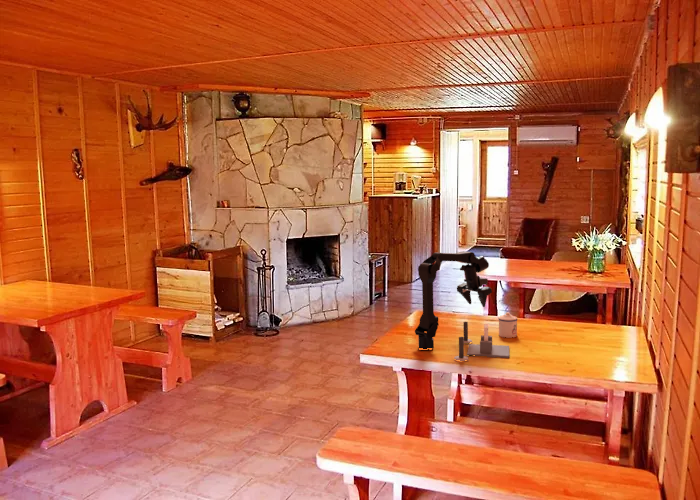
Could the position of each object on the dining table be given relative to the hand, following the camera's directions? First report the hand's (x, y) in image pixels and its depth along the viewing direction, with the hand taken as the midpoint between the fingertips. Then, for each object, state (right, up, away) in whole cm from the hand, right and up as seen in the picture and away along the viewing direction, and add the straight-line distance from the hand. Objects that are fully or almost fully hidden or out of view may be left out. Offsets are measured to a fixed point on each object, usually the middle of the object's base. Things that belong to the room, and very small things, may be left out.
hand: (477, 305), depth 284 cm
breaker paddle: (-1, -17, -24) cm, 29 cm away
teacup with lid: (+16, -15, +4) cm, 23 cm away
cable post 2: (-7, -17, -7) cm, 20 cm away
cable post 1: (-14, -20, -34) cm, 42 cm away
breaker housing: (-1, -19, -24) cm, 30 cm away
